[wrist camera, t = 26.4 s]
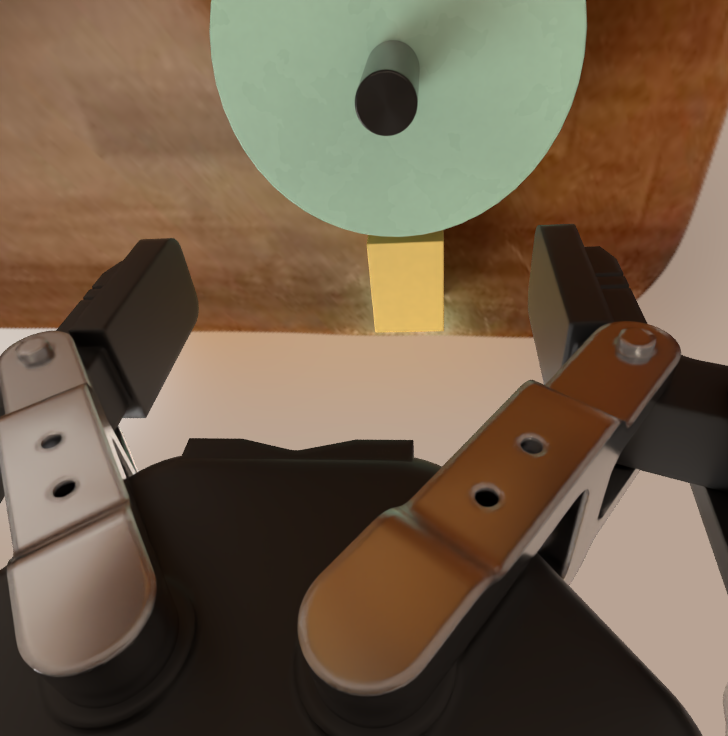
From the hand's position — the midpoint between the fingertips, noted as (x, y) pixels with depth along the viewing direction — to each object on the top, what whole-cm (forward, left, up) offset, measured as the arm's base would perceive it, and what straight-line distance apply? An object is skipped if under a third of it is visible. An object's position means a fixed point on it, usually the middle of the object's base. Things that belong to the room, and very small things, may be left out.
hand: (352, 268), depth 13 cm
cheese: (0, -12, -22) cm, 25 cm away
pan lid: (0, 0, -17) cm, 17 cm away
